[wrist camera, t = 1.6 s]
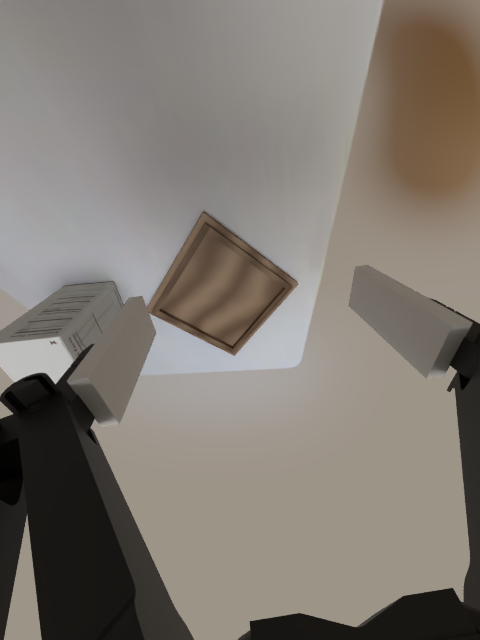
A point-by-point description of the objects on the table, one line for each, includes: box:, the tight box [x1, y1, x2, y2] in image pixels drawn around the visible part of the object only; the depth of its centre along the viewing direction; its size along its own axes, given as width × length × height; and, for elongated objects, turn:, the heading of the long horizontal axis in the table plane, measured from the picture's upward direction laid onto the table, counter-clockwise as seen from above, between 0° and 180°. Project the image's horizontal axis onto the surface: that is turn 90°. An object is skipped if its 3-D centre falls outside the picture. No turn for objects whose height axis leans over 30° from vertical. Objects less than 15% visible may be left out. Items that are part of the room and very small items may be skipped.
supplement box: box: [0, 282, 123, 384], centre depth 35 cm, size 10×9×17 cm
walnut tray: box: [147, 212, 298, 356], centre depth 42 cm, size 21×21×2 cm
